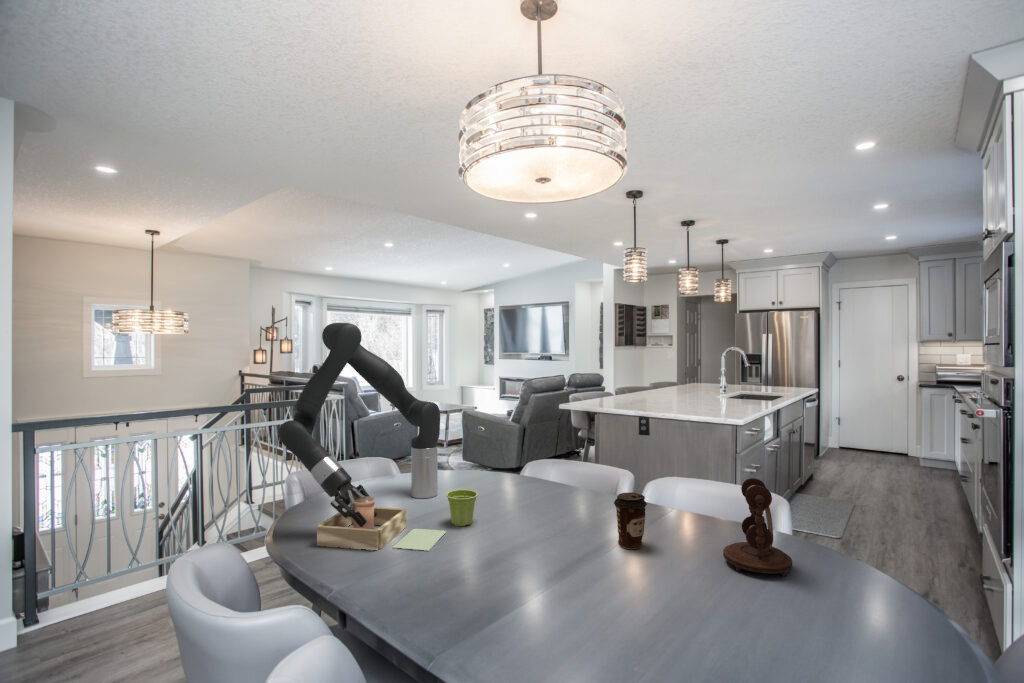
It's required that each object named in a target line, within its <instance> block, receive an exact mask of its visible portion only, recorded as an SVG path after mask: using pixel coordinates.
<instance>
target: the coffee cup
mask: <svg viewBox="0 0 1024 683" xmlns="http://www.w3.org/2000/svg"><path fill="white" fill-rule="evenodd" d="M645 499H646V496H645V495H643V494H639V493H637V492H621V493H618V494H617V497H616V499H614V501H613V504H614V506H615V509H616V520H617V533H618V540H617V544H618V546H619V547H620V548H623V549H627V550H637V549H641V548H643V545H644V544H643V537H644V534H645V525H646V524H645V523H646V506H647V505H648V503H647V502H646V500H645Z"/></svg>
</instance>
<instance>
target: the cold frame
mask: <svg viewBox="0 0 1024 683" xmlns="http://www.w3.org/2000/svg"><path fill="white" fill-rule="evenodd" d="M351 509H352V508H351ZM374 510H375V511H376V512H377V516H376V517H375V518H374V526H376V525H382V526H378V528H377V529H376V528H374V529H362V528H353V527H350V526H352V525H353V524H352V523H353V518H350V517H347V518H345V517H343V516H342V515H341V514H340V513H339V512H338V513H336V514H333V515H332V516H331V517H329V518H327V519H326V520H324V521H323V522H321V523H319V524H317V526H316V546H317V547H325V546H326V547H327V548H337V547H340V549H349V548H351V549H352V550H353V549H354V550H361V549H366V550H365V551H373V550H377V551H378V550H382V549H383V548H384V547H386V546H387V545H388V544H389V543H390V542H391V541H392V540H393V538H394V537H395V536H396V535H397V534H398V533H400V532H401V531H402V530H403V529H404V528H405V529H407V509H406V508H394V507H380V506H379V507H378V506H374ZM343 511H344V509H343ZM344 512H345V513H346V512H347V511H344ZM351 524H352V525H351ZM349 525H350V526H349ZM348 526H349V527H348ZM405 529H404V530H405ZM404 530H403V531H404ZM403 531H402V532H403ZM402 532H401V533H402ZM401 533H400V534H401ZM398 535H399V534H398ZM398 535H397V536H398ZM397 536H396V537H397ZM396 537H395V538H396ZM395 538H394V539H395ZM391 539H392V540H391ZM390 540H391V541H390ZM389 541H390V542H389ZM388 542H389V543H388ZM387 543H388V544H387ZM383 546H384V547H383ZM326 547H325V548H326ZM382 547H383V548H382ZM381 548H382V549H381ZM351 549H350V550H351Z"/></svg>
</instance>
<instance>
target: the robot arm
mask: <svg viewBox="0 0 1024 683" xmlns="http://www.w3.org/2000/svg"><path fill="white" fill-rule="evenodd" d="M361 332H362V331H361V329H360V328H359V327H358V326H357V325H355V324H354V323H349V322H332V323H330V324H327V325H326V326H325V327H324V328H323V330H322V334H321V339H322V342H323V344H324V346H325V347H326V348H327V350H329V352H328V355H327V357H326V358H325V360H324V362H323V363H322V364H321V365H320V367H319V368H318V369H317V370H316V372H314V374H312V376H311V377H310V378H309V380H307V382H306V384H305V386H304V387H303V388H302V391H301V393H300V394H299V397H298V399H297V400H296V403H295V405H294V409H295V414H294V417H293V418H292V419H291V420H286V421H284V422H283V423H282V424H281V425H280V426H279V429H278V432H277V433H278V438H279V440H280V442H281V443H282V444H283V445H284V447H286V449H287V450H289V452H291V453H292V454H293V455H294V456H295V457H297V458H298V460H299V461H300V463H301V464H302V465H303V466H304V467H305V468H306V470H307V471H308V472H309V473H310V474H311V475H312V478H313V479H314V480H315V481H316V482H317V484H318V485H319V486H320V487H321V488H322V490H323V491H324V492H325V493H326V495H327V496H328V497H329V498H333V497H334V498H333V500H332V501H331V502H330V506H331V507H333V508H334V509H335V510H336V511H337V512H338V513H340V514H341V515H342V516H343V517H345V518H347V517H350V518H353V519H354V520H355V522H356V523H357V524H358V525H359V526H360V527H362V526H364V525H365V524H366V522H367V520H366V519H365V518H364V517H363V516H362V515H361V513H360V512H359V511H358V510H357V508H356V507H355V506H354V502H355V499H356V498H358V497H371V496H370V495H369V493H368V492H367V491H366V489H365V487H364V486H363V485H362V484H359V485H358V486H355V485H353V484H352V483H351V482H352V479H353V478H352V476H350V474H349V473H348V472H347V471H346V470H345V469H344V467H343V466H342V465H341V464H340V463H339V461H338V460H336V459H335V458H334V457H333V456H332V455H331V454H330V453H329V451H327V449H326V448H325V447H324V446H323V445H322V444H321V443H319V442H318V441H316V440H315V439H314V438H313V437H312V435H313V433H314V428H315V426H316V423H317V419H318V417H319V416H318V415H319V414H320V411H321V409H322V408H323V406H324V403H325V402H326V400H327V397H328V395H329V394H330V391H331V390H332V388H333V386H334V384H335V382H336V381H337V379H338V378H339V376H340V374H341V373H342V372H343V370H344V368H345V367H346V366H347V364H348V365H349V366H350V367H351V368H352V369H353V370H354V371H355V372H356V373H357V374H358V375H359V376H361V377H362V378H363V380H364V381H366V382H367V383H368V384H369V385H370V387H372V388H373V389H374V390H375V391H376V392H377V393H378V394H380V395H381V397H383V398H384V399H386V401H387V402H389V403H390V404H391V405H392V406H394V407H395V408H396V409H397V410H398V411H399V413H400V414H401V415H402V416H403V417H404V418H405V420H406V421H407V422H408V423H409V424H410V425H412V426H415V427H417V428H418V435H417V436H415V437H413V438H412V439H411V442H410V448H411V449H410V451H411V452H410V456H411V458H410V461H411V463H410V465H411V468H410V469H411V470H410V471H411V472H410V480H411V492H410V494H411V497H413V498H415V499H416V498H417V499H430V498H434V497H436V496H438V494H439V493H438V489H439V486H438V485H439V481H438V480H439V479H438V478H439V476H438V473H439V472H438V465H439V464H438V442H439V438H440V435H441V433H440V430H441V410H440V408H439V406H438V404H437V403H435V402H432V401H425V400H420V399H418V398H417V397H415V396H414V395H412V393H410V392H409V390H408V389H407V388H406V385H405V382H404V379H403V377H402V375H401V374H400V372H398V370H397V369H395V368H394V367H393V366H392V365H391V364H390V363H388V361H386V360H385V359H384V358H382V357H380V356H378V355H377V354H375V353H374V352H371V351H369V349H366V348H365V347H364V346H363V345H362V344H361V342H362V333H361ZM351 508H352V509H351ZM343 510H344V511H347V512H346V513H345V512H344V511H343ZM357 511H358V512H357ZM376 516H377V512H376V511H375V510H374V518H375V517H376Z"/></svg>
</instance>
